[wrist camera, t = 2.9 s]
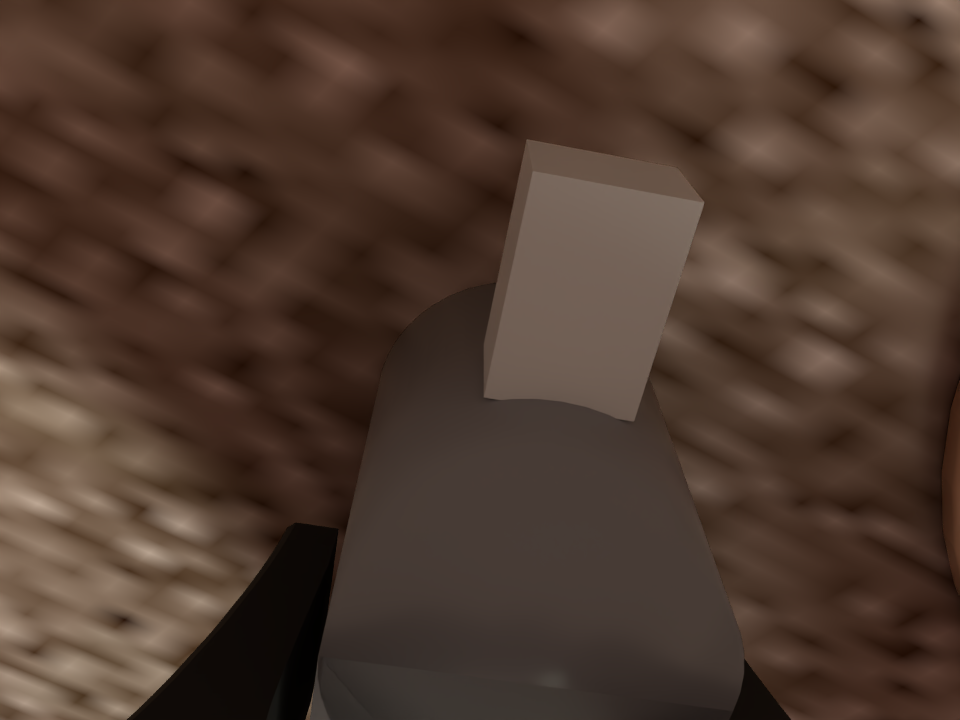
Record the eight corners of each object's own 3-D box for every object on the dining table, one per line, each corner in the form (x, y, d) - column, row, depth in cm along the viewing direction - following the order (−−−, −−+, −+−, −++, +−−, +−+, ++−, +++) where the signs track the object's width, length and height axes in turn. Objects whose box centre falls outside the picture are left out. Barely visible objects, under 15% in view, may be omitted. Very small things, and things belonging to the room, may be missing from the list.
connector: (543, 734, 16) (565, 1056, 11) (331, 707, 15) (270, 1027, 11) (738, 143, 10) (925, 312, 6) (422, 84, 10) (375, 214, 6)
